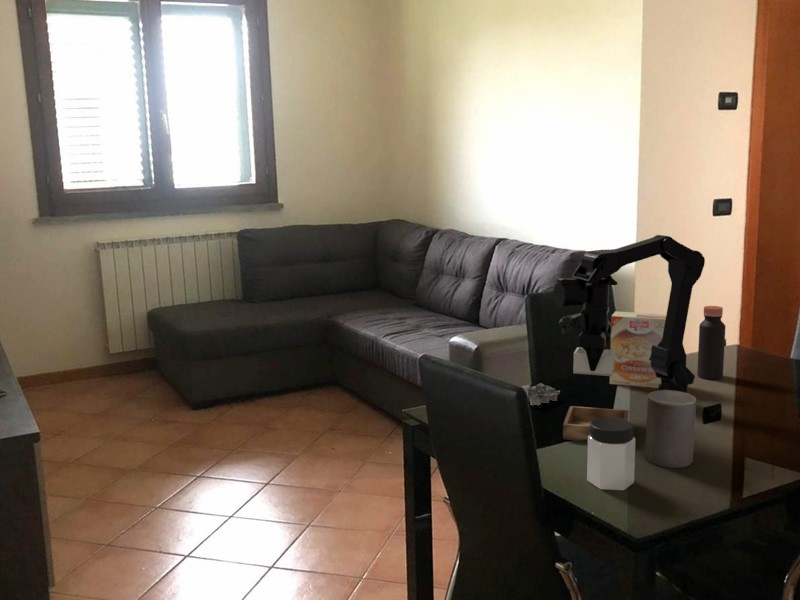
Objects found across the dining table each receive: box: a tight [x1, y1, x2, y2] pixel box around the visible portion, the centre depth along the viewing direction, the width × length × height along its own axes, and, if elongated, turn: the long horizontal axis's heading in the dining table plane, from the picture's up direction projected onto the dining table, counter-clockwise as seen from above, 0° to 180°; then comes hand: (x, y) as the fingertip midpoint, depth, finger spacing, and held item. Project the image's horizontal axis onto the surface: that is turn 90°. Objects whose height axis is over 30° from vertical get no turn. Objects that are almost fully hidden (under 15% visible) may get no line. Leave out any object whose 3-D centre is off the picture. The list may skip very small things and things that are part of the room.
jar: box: [586, 417, 636, 491], centre depth 155 cm, size 9×8×12 cm
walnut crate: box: [562, 405, 630, 442], centre depth 183 cm, size 14×14×4 cm
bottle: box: [696, 305, 726, 381], centre depth 223 cm, size 7×7×20 cm
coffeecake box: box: [609, 310, 667, 389], centre depth 218 cm, size 15×7×20 cm, turn 67°
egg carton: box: [525, 382, 561, 406], centre depth 206 cm, size 11×8×4 cm
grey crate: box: [572, 346, 615, 377], centre depth 192 cm, size 9×6×5 cm, turn 70°
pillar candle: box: [644, 390, 697, 469], centre depth 165 cm, size 10×10×15 cm
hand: (594, 367), depth 192 cm, fingers closed on grey crate, 6 cm apart
